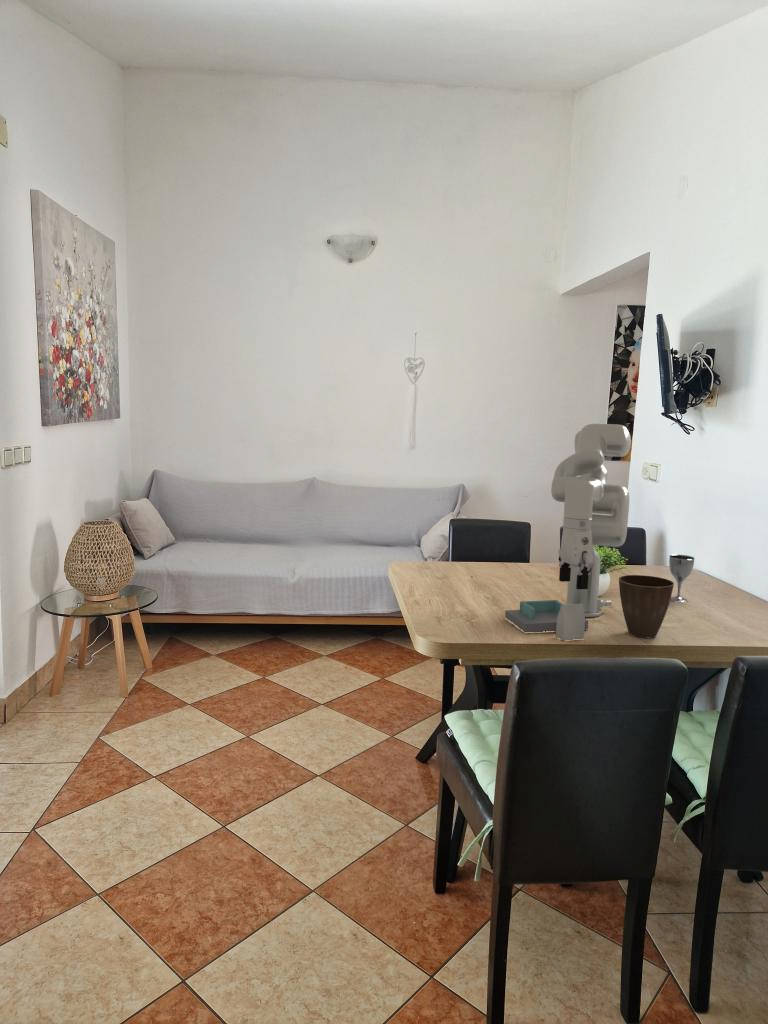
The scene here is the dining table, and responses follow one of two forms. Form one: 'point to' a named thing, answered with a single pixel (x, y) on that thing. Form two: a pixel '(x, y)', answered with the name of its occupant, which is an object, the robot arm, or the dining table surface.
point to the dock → (536, 615)
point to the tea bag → (570, 622)
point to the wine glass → (680, 571)
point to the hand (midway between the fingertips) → (573, 585)
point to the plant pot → (644, 603)
